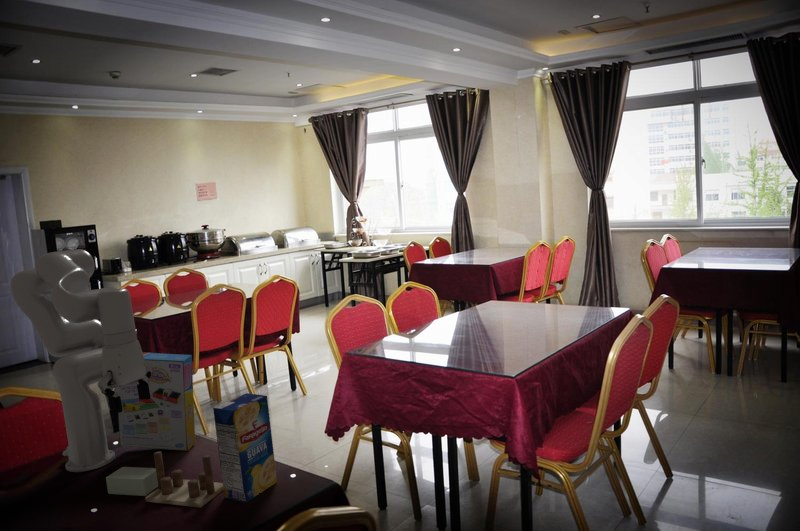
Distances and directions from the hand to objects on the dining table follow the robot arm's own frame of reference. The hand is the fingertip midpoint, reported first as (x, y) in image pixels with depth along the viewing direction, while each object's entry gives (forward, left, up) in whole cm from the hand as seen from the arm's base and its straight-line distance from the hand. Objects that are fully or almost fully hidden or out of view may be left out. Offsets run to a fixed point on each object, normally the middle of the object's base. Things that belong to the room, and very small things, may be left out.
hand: (131, 405), depth 155 cm
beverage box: (+31, +3, -21) cm, 37 cm away
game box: (-12, +20, -20) cm, 31 cm away
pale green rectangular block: (0, -2, -21) cm, 21 cm away
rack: (+15, -2, -21) cm, 26 cm away
